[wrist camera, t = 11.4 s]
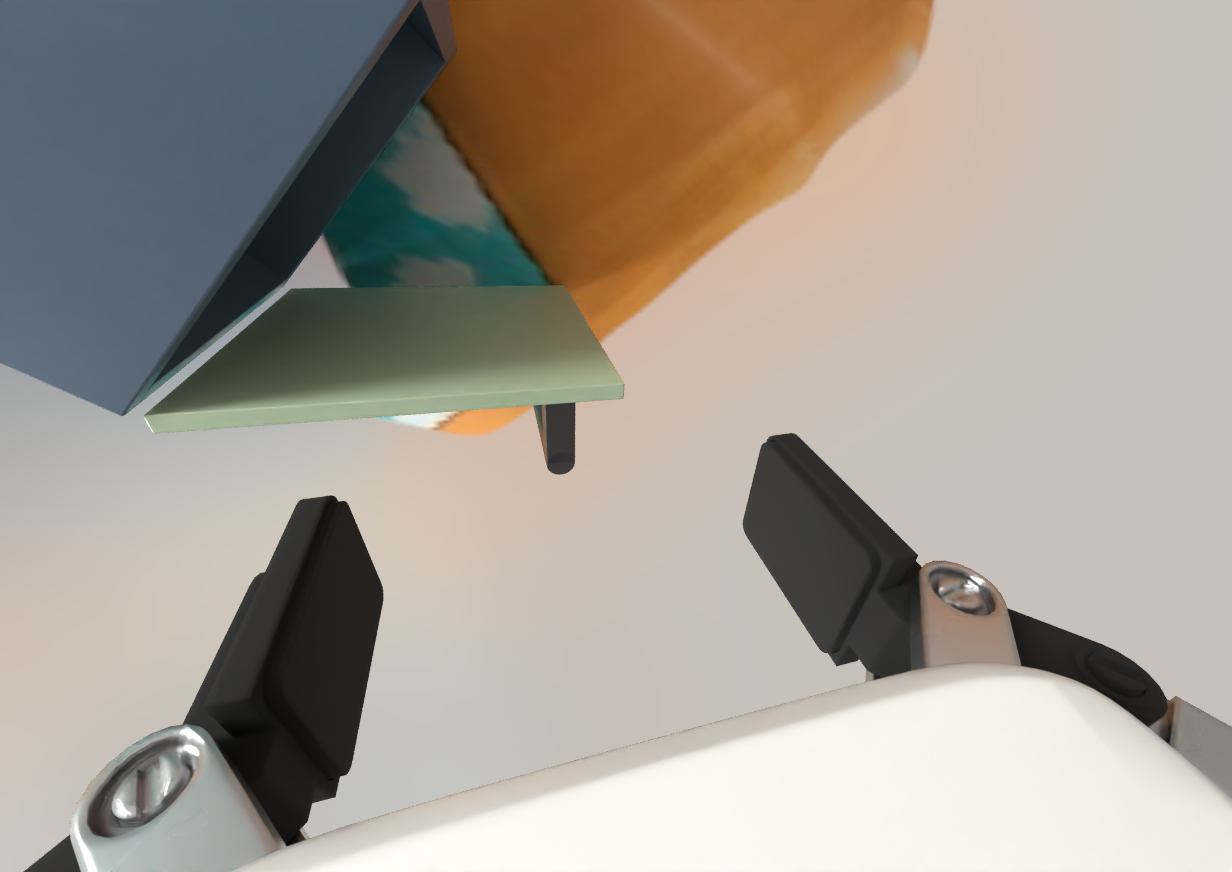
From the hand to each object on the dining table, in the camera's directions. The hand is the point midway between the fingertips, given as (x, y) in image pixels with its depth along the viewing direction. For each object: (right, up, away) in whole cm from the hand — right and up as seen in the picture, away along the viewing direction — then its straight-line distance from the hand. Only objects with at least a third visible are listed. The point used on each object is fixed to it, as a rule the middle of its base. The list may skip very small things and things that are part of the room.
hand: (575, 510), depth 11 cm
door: (-12, +9, +23) cm, 28 cm away
